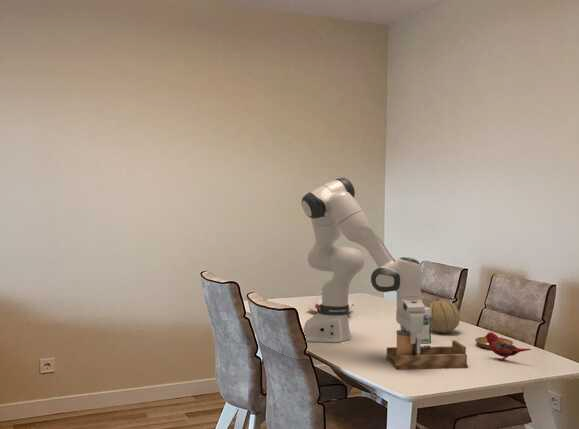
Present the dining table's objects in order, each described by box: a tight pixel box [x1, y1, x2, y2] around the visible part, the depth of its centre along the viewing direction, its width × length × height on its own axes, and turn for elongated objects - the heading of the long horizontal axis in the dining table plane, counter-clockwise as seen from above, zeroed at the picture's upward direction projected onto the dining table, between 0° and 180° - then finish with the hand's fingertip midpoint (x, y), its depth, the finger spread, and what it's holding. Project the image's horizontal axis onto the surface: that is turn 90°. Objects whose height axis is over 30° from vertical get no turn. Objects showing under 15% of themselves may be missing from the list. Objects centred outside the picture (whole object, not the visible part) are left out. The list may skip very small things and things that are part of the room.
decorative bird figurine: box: [484, 331, 532, 362], centre depth 234 cm, size 3×18×10 cm, turn 50°
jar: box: [396, 329, 413, 355], centre depth 229 cm, size 6×6×11 cm
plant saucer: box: [474, 336, 514, 350], centre depth 256 cm, size 15×15×3 cm
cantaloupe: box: [428, 298, 461, 334], centre depth 281 cm, size 15×15×15 cm
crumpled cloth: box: [307, 294, 355, 313], centre depth 320 cm, size 24×35×9 cm
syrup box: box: [417, 306, 432, 344], centre depth 263 cm, size 6×6×14 cm
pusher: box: [413, 336, 432, 355], centre depth 230 cm, size 6×9×9 cm
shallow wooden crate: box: [385, 340, 469, 371], centre depth 230 cm, size 26×14×7 cm, turn 97°
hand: (408, 340), depth 230 cm, fingers open, 8 cm apart
